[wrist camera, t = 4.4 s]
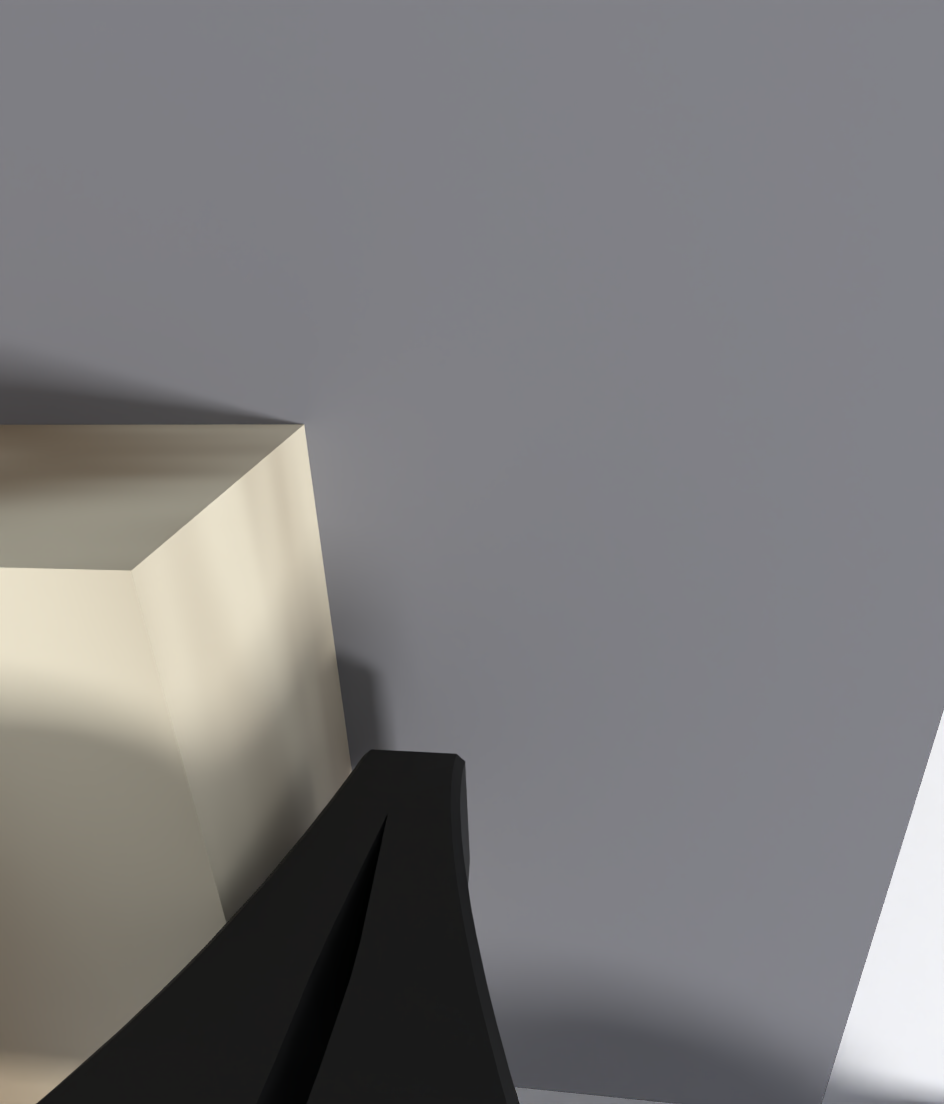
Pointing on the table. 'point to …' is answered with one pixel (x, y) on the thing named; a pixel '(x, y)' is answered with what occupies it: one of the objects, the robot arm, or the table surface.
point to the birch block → (148, 712)
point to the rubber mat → (555, 444)
